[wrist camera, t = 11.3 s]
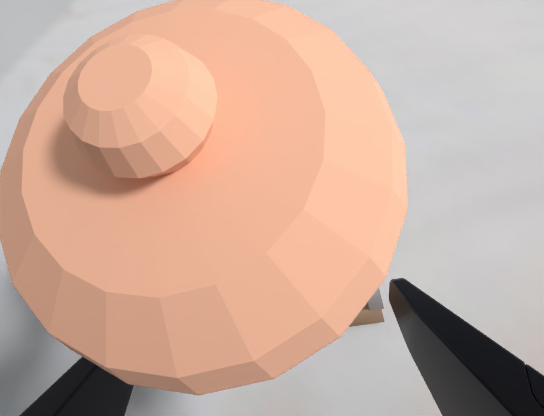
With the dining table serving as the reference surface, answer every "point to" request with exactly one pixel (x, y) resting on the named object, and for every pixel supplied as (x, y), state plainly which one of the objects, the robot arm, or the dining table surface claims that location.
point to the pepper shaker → (203, 194)
